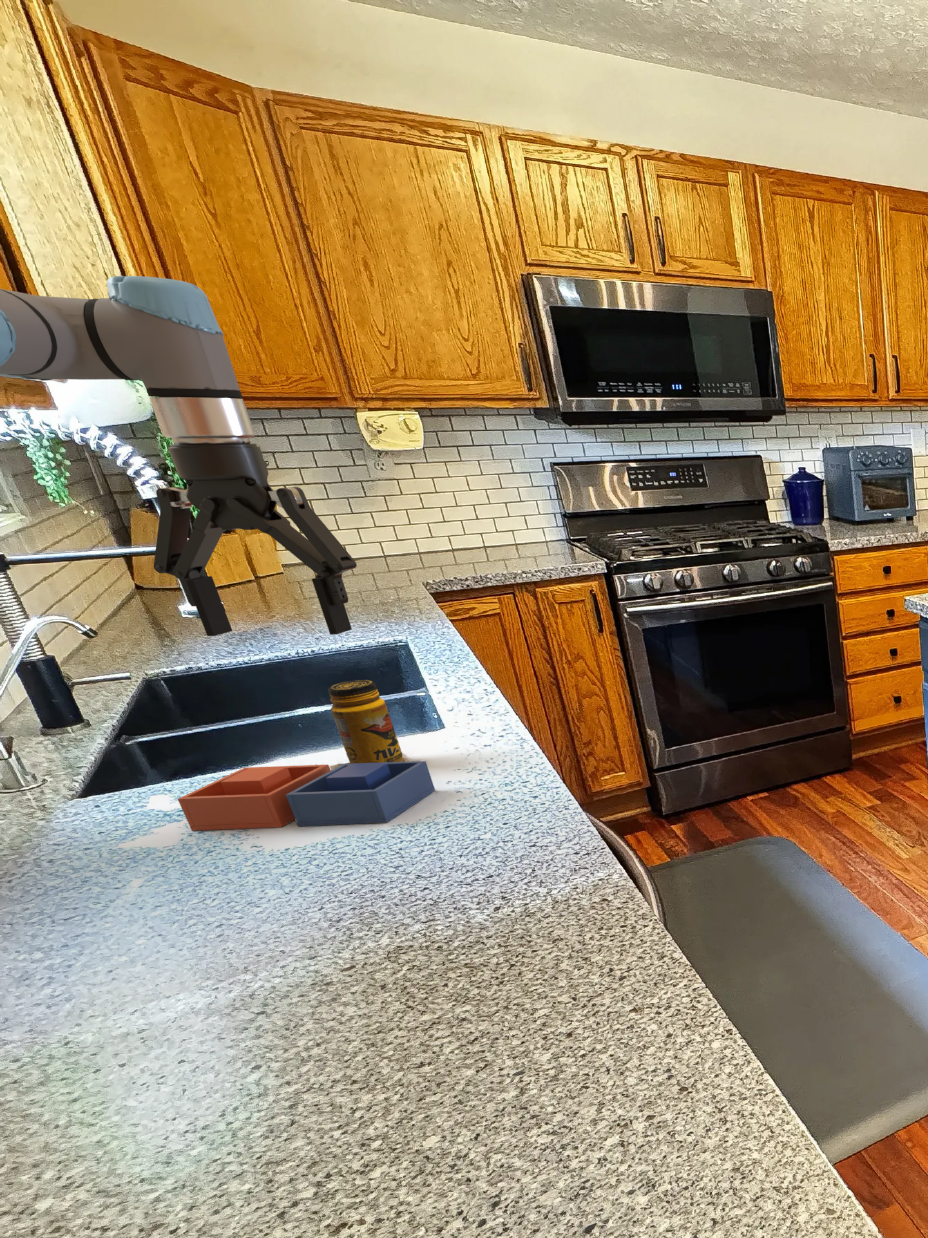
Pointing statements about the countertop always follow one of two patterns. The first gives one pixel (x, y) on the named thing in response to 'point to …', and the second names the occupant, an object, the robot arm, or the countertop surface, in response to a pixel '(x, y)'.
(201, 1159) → the countertop surface
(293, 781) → the terracotta bin
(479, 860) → the countertop surface
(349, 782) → the blue block
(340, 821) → the blue bin
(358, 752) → the condiment
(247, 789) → the terracotta block
